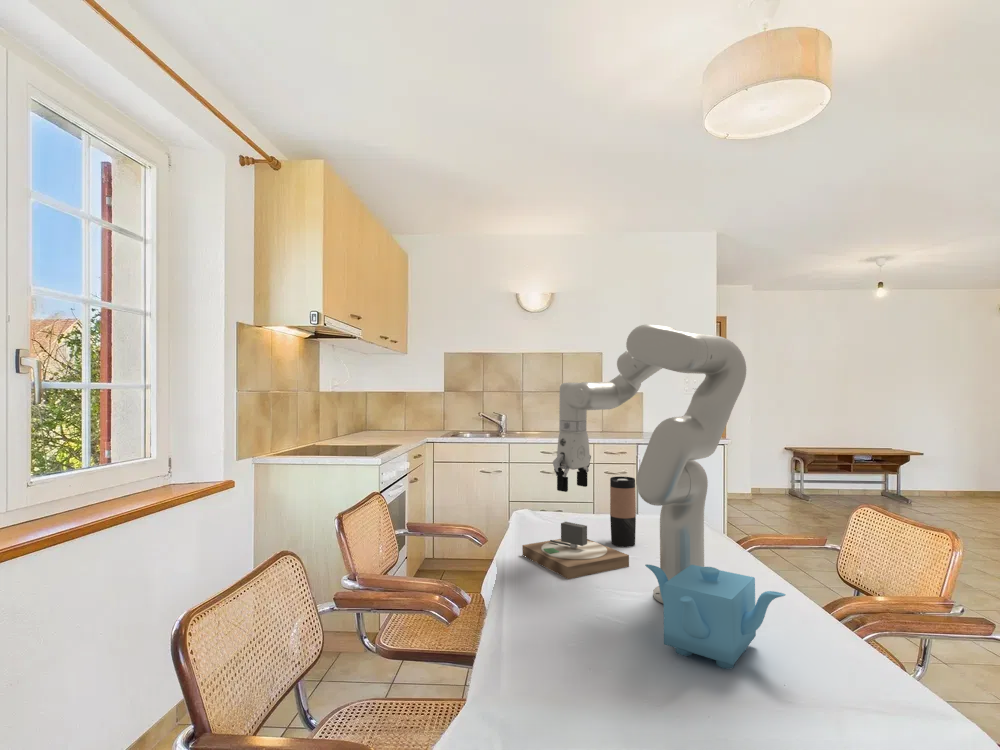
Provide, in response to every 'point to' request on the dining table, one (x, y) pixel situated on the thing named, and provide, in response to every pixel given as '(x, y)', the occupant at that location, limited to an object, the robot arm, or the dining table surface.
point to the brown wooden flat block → (575, 558)
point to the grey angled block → (573, 534)
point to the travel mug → (622, 511)
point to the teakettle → (711, 612)
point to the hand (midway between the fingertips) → (572, 488)
